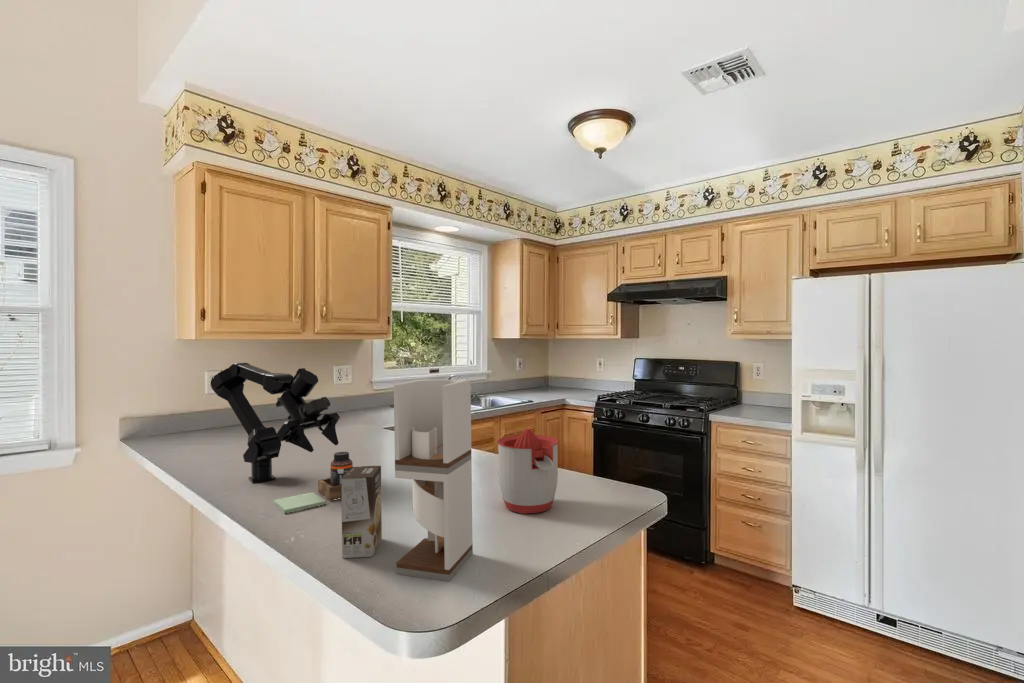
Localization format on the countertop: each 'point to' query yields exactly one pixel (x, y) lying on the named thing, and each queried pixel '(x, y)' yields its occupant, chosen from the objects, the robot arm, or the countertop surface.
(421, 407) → the white tiered shelf stand
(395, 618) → the countertop surface
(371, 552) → the coffee box
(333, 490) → the walnut collar
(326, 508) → the countertop surface
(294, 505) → the sage rubber mat
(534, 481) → the citrus juicer
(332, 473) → the supplement bottle
